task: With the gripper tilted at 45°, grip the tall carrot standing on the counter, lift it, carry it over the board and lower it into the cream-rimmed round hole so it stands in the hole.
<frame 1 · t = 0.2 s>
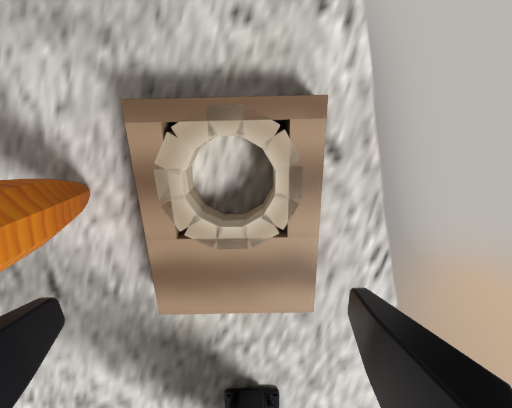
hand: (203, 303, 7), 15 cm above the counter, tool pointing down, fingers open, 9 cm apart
carrot: (88, 189, 21), on the counter
hole board: (234, 208, 22), on the counter
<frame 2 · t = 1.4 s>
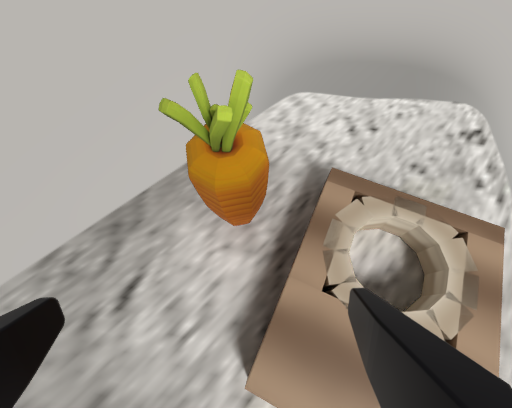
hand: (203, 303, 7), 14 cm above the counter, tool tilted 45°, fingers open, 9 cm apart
carrot: (241, 220, 23), on the counter
hole board: (372, 301, 20), on the counter
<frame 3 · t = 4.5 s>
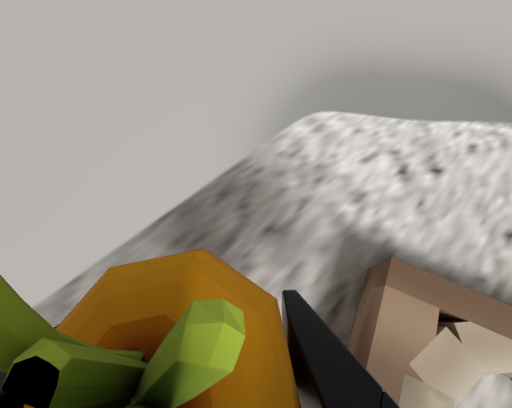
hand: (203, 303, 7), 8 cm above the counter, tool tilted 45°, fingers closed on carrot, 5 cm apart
carrot: (232, 336, 14), on the counter, touching gripper
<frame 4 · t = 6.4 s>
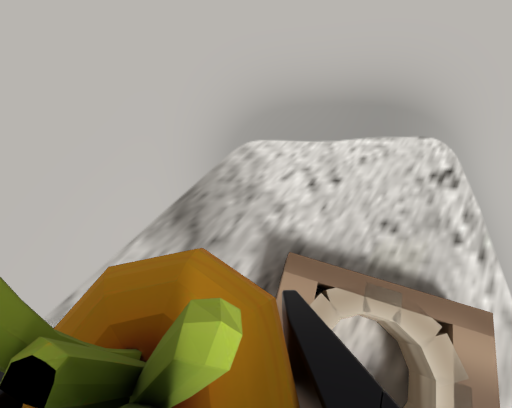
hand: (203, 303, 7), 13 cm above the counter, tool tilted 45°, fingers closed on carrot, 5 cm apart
carrot: (232, 336, 14), point 5 cm above the counter, touching gripper
when the fingers open (9 cm above the counter, at t = 8.6 s): carrot drops 1 cm, resting in hole board.
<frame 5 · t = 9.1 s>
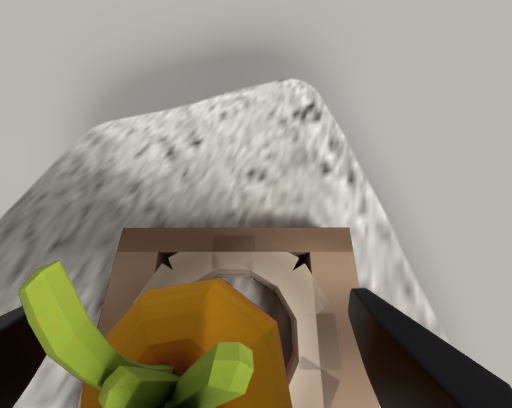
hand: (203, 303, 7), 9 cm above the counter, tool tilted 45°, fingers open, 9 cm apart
carrot: (236, 338, 15), resting in hole board
hole board: (233, 394, 14), on the counter
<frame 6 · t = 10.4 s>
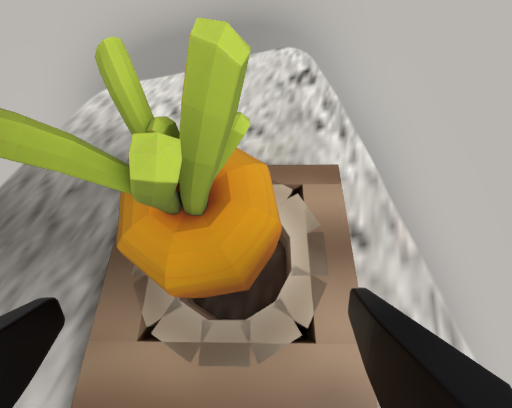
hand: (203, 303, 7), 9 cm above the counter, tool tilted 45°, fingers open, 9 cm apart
carrot: (236, 266, 17), resting in hole board
hole board: (233, 310, 15), on the counter
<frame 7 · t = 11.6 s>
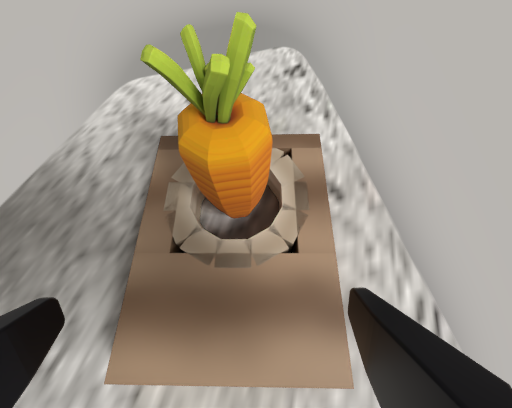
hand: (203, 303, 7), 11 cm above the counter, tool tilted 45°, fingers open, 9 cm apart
carrot: (240, 214, 21), resting in hole board
hole board: (238, 244, 20), on the counter
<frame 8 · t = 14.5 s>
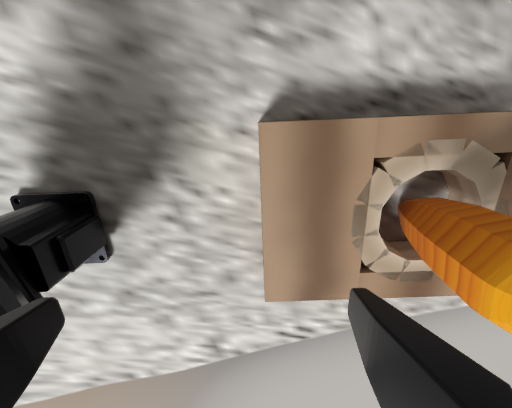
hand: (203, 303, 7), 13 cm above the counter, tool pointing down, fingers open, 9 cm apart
carrot: (400, 203, 20), resting in hole board
hole board: (368, 205, 20), on the counter
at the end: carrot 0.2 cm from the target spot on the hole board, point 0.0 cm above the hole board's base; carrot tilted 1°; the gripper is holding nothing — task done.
